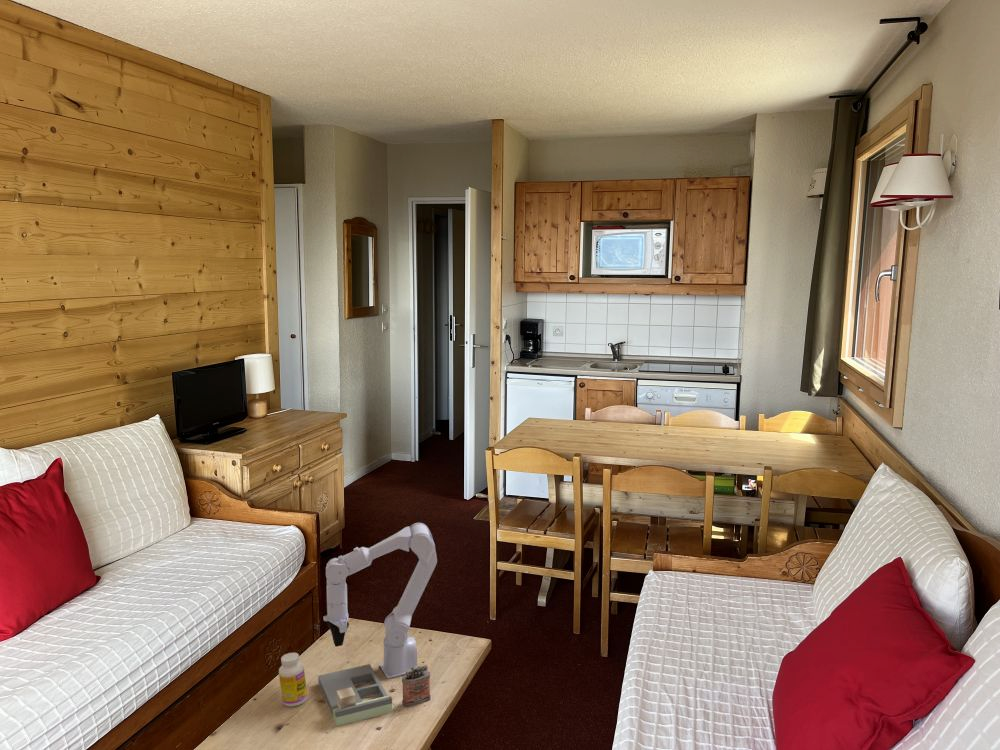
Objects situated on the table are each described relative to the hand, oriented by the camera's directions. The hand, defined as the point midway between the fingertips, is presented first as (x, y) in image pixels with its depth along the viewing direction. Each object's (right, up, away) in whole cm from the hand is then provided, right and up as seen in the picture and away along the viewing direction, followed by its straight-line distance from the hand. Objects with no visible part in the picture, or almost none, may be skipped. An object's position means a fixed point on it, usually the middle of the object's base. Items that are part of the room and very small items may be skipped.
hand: (338, 645), depth 219 cm
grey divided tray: (+6, -11, -10) cm, 16 cm away
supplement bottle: (-9, -11, -12) cm, 19 cm away
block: (+6, -10, -18) cm, 22 cm away
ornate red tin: (+24, -12, -11) cm, 29 cm away
